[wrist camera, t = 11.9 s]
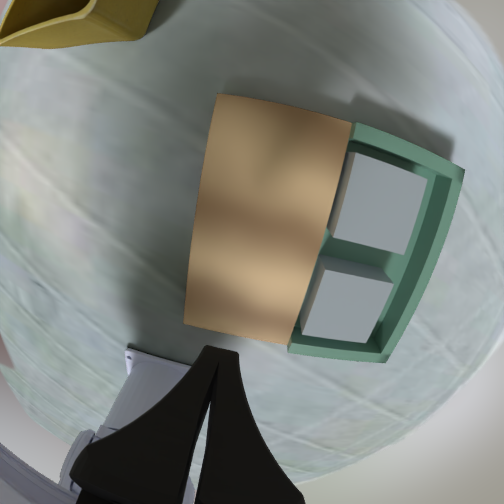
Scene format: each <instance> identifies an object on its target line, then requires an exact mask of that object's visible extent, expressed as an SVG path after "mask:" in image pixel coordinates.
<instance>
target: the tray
mask: <svg viewBox="0 0 504 504" xmlns="http://www.w3.org/2000/svg"><path fill="white" fill-rule="evenodd" d="M346 152H356V153H359V154H362V155H365V156H368V157H371V158H374V159H377V160H380V161H382V162H385V163H388V164H391V165H393V166H396V167H399V168H401V169H404V170H406V171H409V172H411V173H414V174H416V175H419V176H421V177H423V178H426V179H428V180H427V184H426V187H425V191H424V195H423V198H422V202H421V205H420V209H419V212H418V215H417V218H416V222H415V225H414V228H413V231H412V234H411V237H410V240H409V242H408V245H407V248H406V251H405V253H404V255H401V254H398V253H394V252H390V251H386V250H382V249H378V248H374V247H370V246H366V245H362V244H358V243H354V242H350V241H346V240H342V239H338V238H334V237H333V236H332V235H331V233H330V232H329V230H328V229H327V227H326V229H325V233H324V236H323V240H322V243H321V246H320V250H319V253H318V254H321V255H326V256H330V257H335V258H339V259H344V260H348V261H353V262H357V263H362V264H366V265H370V266H375V267H379V268H382V269H383V271H384V272H385V273H386V274H387V276H388V277H389V278H390V279H391V281H392V282H393V283H394V285H393V288H392V290H391V292H390V295H389V297H388V299H387V301H386V303H385V306H384V308H383V310H382V312H381V314H380V316H379V318H378V320H377V322H376V324H375V326H374V328H373V330H372V332H371V334H370V336H369V338H368V340H367V342H366V343H360V342H351V341H343V340H335V339H328V338H321V337H314V336H308V335H302V333H301V326H300V319H299V314H298V317H297V320H296V323H295V325H294V328H293V331H292V334H291V336H290V339H289V342H288V345H287V347H288V353H293V354H299V355H307V356H314V357H322V358H331V359H340V360H350V361H361V362H375V363H386V362H387V360H388V358H389V357H390V355H391V353H392V352H393V350H394V348H395V347H396V345H397V343H398V342H399V340H400V338H401V336H402V334H403V333H404V331H405V329H406V327H407V325H408V323H409V321H410V320H411V318H412V316H413V314H414V312H415V310H416V308H417V306H418V304H419V302H420V300H421V297H422V295H423V293H424V291H425V289H426V287H427V284H428V282H429V280H430V277H431V275H432V273H433V270H434V268H435V266H436V263H437V261H438V258H439V255H440V253H441V250H442V247H443V245H444V242H445V239H446V236H447V233H448V230H449V227H450V224H451V221H452V218H453V215H454V211H455V208H456V205H457V201H458V197H459V194H460V190H461V186H462V182H463V177H464V173H465V169H463V168H461V167H459V166H457V165H455V164H454V163H452V162H450V161H448V160H446V159H444V158H442V157H440V156H438V155H436V154H434V153H432V152H430V151H428V150H426V149H424V148H421V147H419V146H417V145H415V144H413V143H410V142H408V141H406V140H403V139H401V138H398V137H396V136H394V135H391V134H389V133H386V132H383V131H381V130H378V129H376V128H373V127H370V126H367V125H364V124H362V123H359V122H354V123H352V126H351V130H350V135H349V139H348V144H347V148H346ZM317 258H318V256H317ZM316 261H317V259H316ZM315 264H316V263H315ZM314 267H315V266H314ZM313 270H314V269H313ZM312 273H313V272H312ZM311 277H312V275H311ZM310 280H311V278H310ZM309 283H310V282H309ZM308 286H309V285H308ZM307 289H308V288H307ZM306 292H307V291H306ZM305 295H306V294H305ZM304 298H305V297H304ZM303 301H304V300H303ZM302 304H303V303H302ZM301 307H302V305H301ZM300 309H301V308H300ZM299 312H300V311H299Z"/></svg>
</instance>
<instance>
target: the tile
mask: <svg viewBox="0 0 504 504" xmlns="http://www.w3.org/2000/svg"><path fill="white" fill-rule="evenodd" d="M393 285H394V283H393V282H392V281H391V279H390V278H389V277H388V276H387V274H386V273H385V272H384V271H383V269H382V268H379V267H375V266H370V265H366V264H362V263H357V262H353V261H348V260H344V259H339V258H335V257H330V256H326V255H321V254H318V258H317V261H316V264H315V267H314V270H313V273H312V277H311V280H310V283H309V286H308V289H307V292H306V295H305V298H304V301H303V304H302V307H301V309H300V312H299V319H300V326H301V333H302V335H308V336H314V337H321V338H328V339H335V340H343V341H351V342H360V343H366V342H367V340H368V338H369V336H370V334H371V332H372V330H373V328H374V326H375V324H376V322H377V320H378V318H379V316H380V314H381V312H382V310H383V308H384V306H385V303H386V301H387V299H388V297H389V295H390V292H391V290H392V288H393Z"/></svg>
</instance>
